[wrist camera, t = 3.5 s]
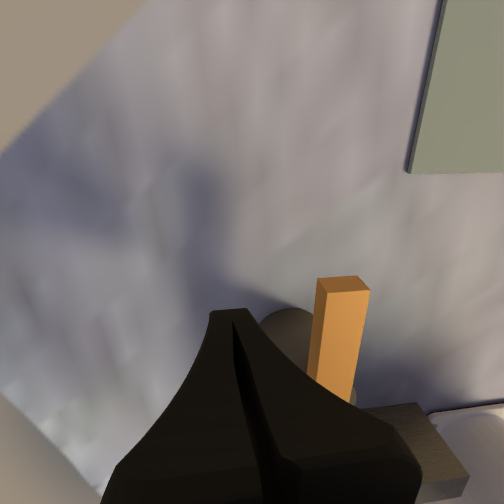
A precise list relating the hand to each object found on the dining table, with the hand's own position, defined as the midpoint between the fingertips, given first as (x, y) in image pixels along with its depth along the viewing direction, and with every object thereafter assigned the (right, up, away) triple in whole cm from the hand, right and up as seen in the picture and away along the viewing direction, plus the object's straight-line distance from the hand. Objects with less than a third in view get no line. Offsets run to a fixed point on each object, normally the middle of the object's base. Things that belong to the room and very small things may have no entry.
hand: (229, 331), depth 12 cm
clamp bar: (+4, -5, +3) cm, 7 cm away
